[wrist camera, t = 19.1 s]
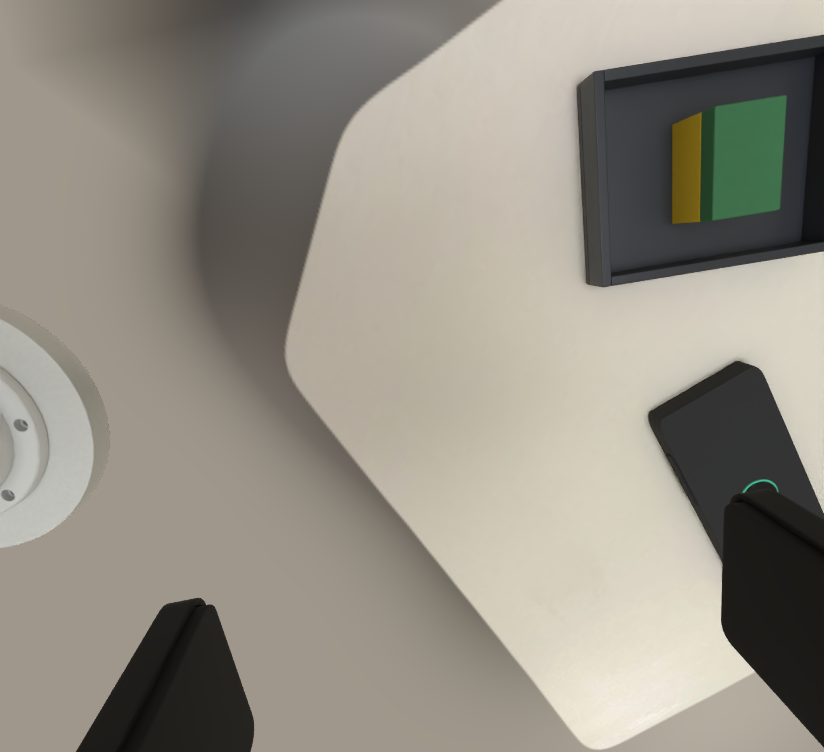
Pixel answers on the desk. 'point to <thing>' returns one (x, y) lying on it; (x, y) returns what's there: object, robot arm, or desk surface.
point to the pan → (652, 162)
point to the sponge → (728, 161)
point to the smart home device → (730, 445)
